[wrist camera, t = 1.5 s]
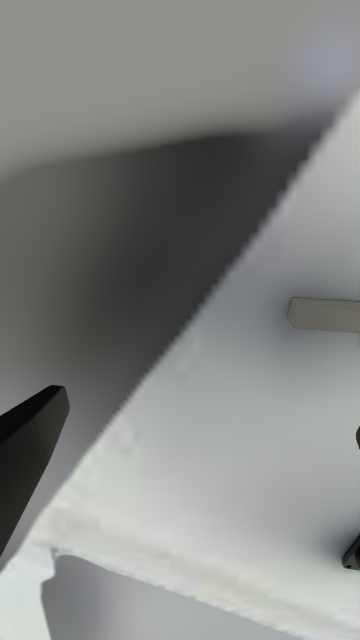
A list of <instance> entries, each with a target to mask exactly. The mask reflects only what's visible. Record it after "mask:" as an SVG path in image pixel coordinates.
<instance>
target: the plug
mask: <svg viewBox="0 0 360 640" xmlns="http://www.w3.org/2000/svg"><path fill="white" fill-rule="evenodd" d="M287 318H288V320H289V321H290V323H291V325H292V327H293V328H296V329H311V330H326V331H341V332H356V333H360V302H358V301H341V300H324V299H307V298H292V300H291V304H290V308H289V312H288V316H287Z"/></svg>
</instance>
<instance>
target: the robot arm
mask: <svg viewBox="0 0 360 640" xmlns="http://www.w3.org/2000/svg"><path fill="white" fill-rule="evenodd" d="M69 409H70V404H69V400H68V396H67V392H66V388H65V387H64V386H58V385H51V386H48V387H47V388H45V389H43V390H42V391H40V392H38V393H37V394H35V395H34V396H32V397H30V398H29V399H27V400H25V401H24V402H22V403H20V404H19V405H17V406H16V407H14V408H12V409H11V410H9V411H8V412H6V413H4V414H2V415H1V416H0V557H1V555H2V553H3V551H4V549H5V547H6V545H7V543H8V541H9V539H10V537H11V535H12V533H13V531H14V530H15V527H16V526H17V524H18V522H19V520H20V518H21V516H22V514H23V512H24V510H25V508H26V506H27V504H28V502H29V500H30V498H31V496H32V494H33V492H34V490H35V488H36V487H37V485H38V482H39V481H40V479H41V477H42V475H43V473H44V471H45V469H46V467H47V465H48V463H49V461H50V458H51V456H52V454H53V451H54V448H55V446H56V444H57V441H58V438H59V436H60V433H61V431H62V428H63V426H64V423H65V421H66V418H67V416H68V413H69ZM356 440H357V443H358V446H359V449H360V426H359V428H358V430H357V432H356ZM342 564H343V567H344V568H347V569H354V570H360V537H359V539H358V540H357V541H356V543H355V544H354V545H353V547H352V548H351V549H350V551H349V552H348V553H347V555H346V556H345V557H344V559H343V560H342Z"/></svg>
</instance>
